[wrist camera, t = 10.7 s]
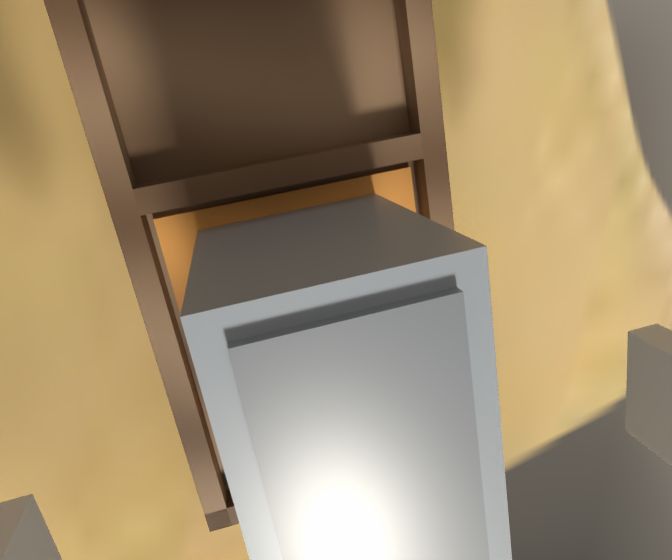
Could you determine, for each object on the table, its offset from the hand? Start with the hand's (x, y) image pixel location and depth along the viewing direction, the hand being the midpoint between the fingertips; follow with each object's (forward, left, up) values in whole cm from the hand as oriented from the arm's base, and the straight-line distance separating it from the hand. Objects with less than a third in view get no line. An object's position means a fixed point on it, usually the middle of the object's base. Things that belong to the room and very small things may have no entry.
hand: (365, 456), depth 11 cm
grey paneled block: (0, 0, -8) cm, 8 cm away
